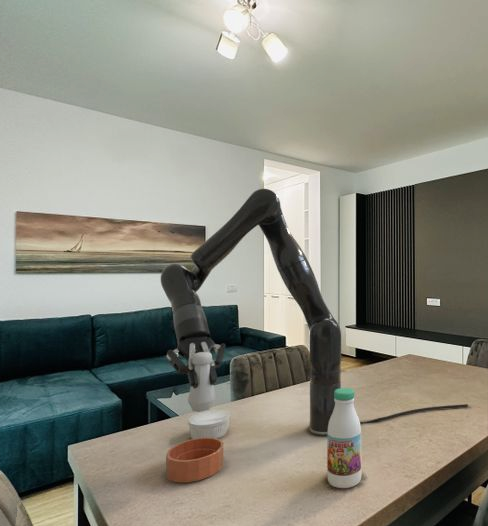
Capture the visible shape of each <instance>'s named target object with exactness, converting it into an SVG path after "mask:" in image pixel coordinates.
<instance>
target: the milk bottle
mask: <svg viewBox="0 0 488 526" xmlns="http://www.w3.org/2000/svg"><path fill="white" fill-rule="evenodd" d="M334 401H335V407H334V410H333V413H332V415H331V418H330V420H329V424H328V435H326V437H327V438H326V439H327V441H326V443H327V444H326V449H327V451H326V452H327V453H326V454H327V455H326V456H327V458H326V461H327V463H326V465H327V466H326V467H327V468H326V469H327V471H326V472H327V473H326V474H327V481H328V483H329V485H330V486H332V487H334V488H338V489H350V488H353V487H355V486H357V485H358V484H359V483H360V482H361V479H362V475H363V474H362V473H363V471H362V470H363V469H362V467H363V466H362V461H363V460H362V427H361V425H362V424H360V422H361V421H360V418H359V416H358V413H357V411H356V409H355V405H354V401H355V390H354V389H353V388H350V387H341V388H340V389H336V390H335V391H334Z"/></svg>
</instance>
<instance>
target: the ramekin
mask: <svg viewBox="0 0 488 526" xmlns="http://www.w3.org/2000/svg"><path fill="white" fill-rule="evenodd" d="M230 418H231V413H230V412H229V411H227V410H223V409H211V410H210V409H209V410H206V411H202V412H196V413H195V414H193V415H191V416H190V417H189V418H188V422H187V424H188V427H189V433H190V437H191V439H196V438H204V437H205V438H216V439H221V438H223V437H224V436H225V435H226V433H227V432H228V430H229V422H230Z"/></svg>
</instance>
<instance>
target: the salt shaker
mask: <svg viewBox="0 0 488 526" xmlns="http://www.w3.org/2000/svg"><path fill="white" fill-rule="evenodd" d="M212 359H213V355H212V352H211V353H209V352H199V353H196V354H194V355H193V356H192V363H193V364H194V370H195V372H196V373H197V378H198V387H197V388H193V386H192V387H191V386H190V388H189V393H188V398H187V402H188V404H189V406H190V408H191V410H192V412H195V413H200V412H204V411H210V409H212V407H213V406H214V402H215V401H216V392H215V387H214V385H211V381H210V364H209V363H210V362H211V361H212Z"/></svg>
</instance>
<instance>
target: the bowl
mask: <svg viewBox="0 0 488 526" xmlns="http://www.w3.org/2000/svg"><path fill="white" fill-rule="evenodd" d="M224 450H225V449H224V441H222V440H221V438H218V439H216V438H205V437H204V438H196V439H193V438H191V439H188V440H185V441H182V442H179V443H178V444H175V445H173V446H172V447H170V448H169V449H168V450H167V452H166V455H165V476H166V478H167V479H168V480H169V481H171V482H174V483H192V482H197V481H201V480H204V479H206V478H207V479H208V478H209V477H212V476H213V475H215V474H217V473H218V472H219V471H220V470H221V469H222V468H223V467H224Z"/></svg>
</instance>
